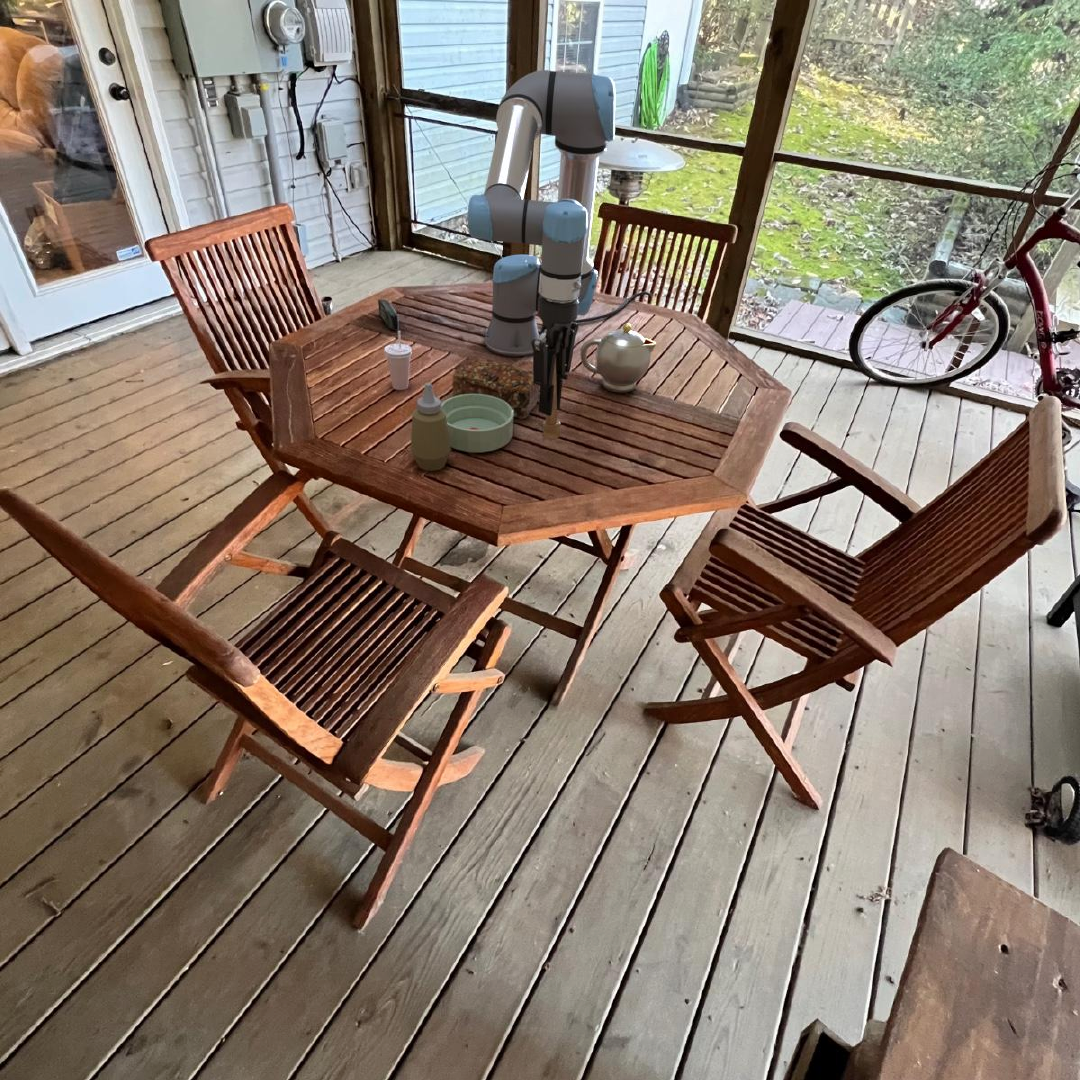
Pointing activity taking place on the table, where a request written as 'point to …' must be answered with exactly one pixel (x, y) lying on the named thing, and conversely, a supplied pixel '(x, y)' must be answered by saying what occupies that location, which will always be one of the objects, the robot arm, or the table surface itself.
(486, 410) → the bowl
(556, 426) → the muddler
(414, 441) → the squeeze bottle
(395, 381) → the smoothie
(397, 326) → the dark grey tapered piece
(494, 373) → the bread
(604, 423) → the table surface
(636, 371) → the teapot
